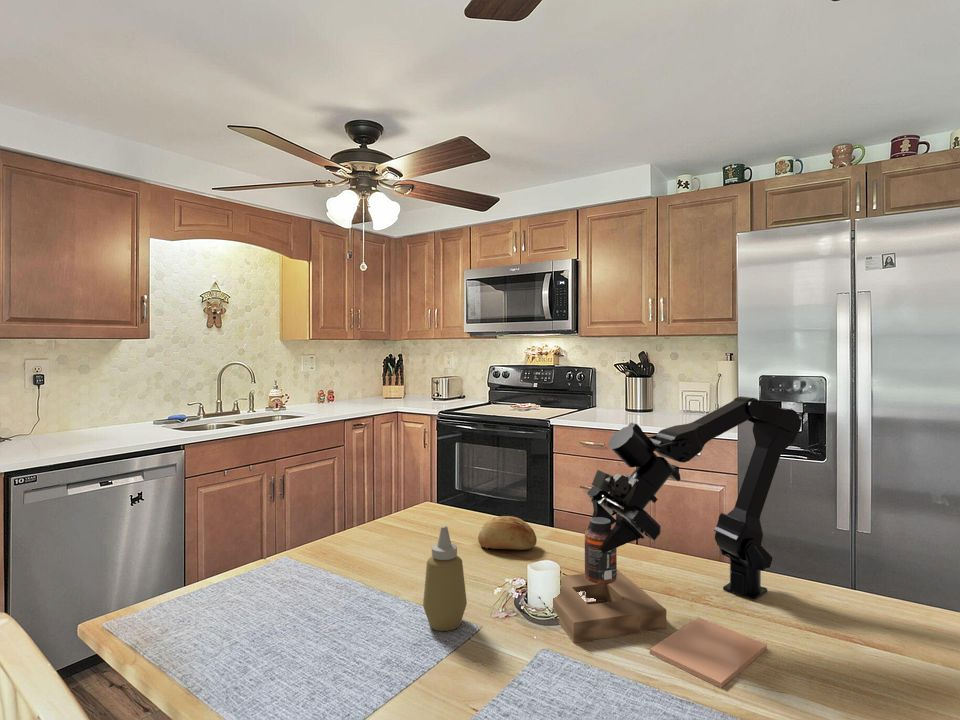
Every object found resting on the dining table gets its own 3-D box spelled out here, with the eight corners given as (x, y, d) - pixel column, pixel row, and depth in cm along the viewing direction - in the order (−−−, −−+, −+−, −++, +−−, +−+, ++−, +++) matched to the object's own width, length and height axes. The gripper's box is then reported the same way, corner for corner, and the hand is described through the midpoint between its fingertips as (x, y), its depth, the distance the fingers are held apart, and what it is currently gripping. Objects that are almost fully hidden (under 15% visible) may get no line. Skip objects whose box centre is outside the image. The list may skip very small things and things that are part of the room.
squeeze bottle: (423, 614, 103) (422, 520, 103) (465, 612, 104) (464, 519, 104) (422, 636, 95) (421, 535, 95) (468, 634, 96) (467, 533, 96)
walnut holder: (617, 585, 115) (617, 569, 115) (666, 628, 97) (666, 609, 97) (537, 596, 110) (537, 579, 110) (573, 642, 93) (573, 622, 93)
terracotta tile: (698, 621, 100) (698, 617, 100) (766, 648, 91) (766, 644, 91) (649, 653, 89) (649, 648, 89) (721, 688, 80) (721, 682, 80)
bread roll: (535, 557, 131) (535, 524, 131) (474, 554, 133) (474, 522, 133) (537, 543, 141) (537, 512, 140) (480, 540, 143) (480, 510, 143)
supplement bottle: (618, 586, 99) (617, 526, 99) (585, 584, 100) (584, 524, 100) (615, 573, 105) (615, 515, 105) (584, 571, 106) (584, 514, 106)
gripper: (595, 446, 112) (546, 504, 110) (645, 465, 94) (588, 535, 92) (629, 481, 115) (582, 538, 112) (684, 506, 97) (630, 575, 94)
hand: (593, 545), depth 102 cm, fingers closed on supplement bottle, 6 cm apart
